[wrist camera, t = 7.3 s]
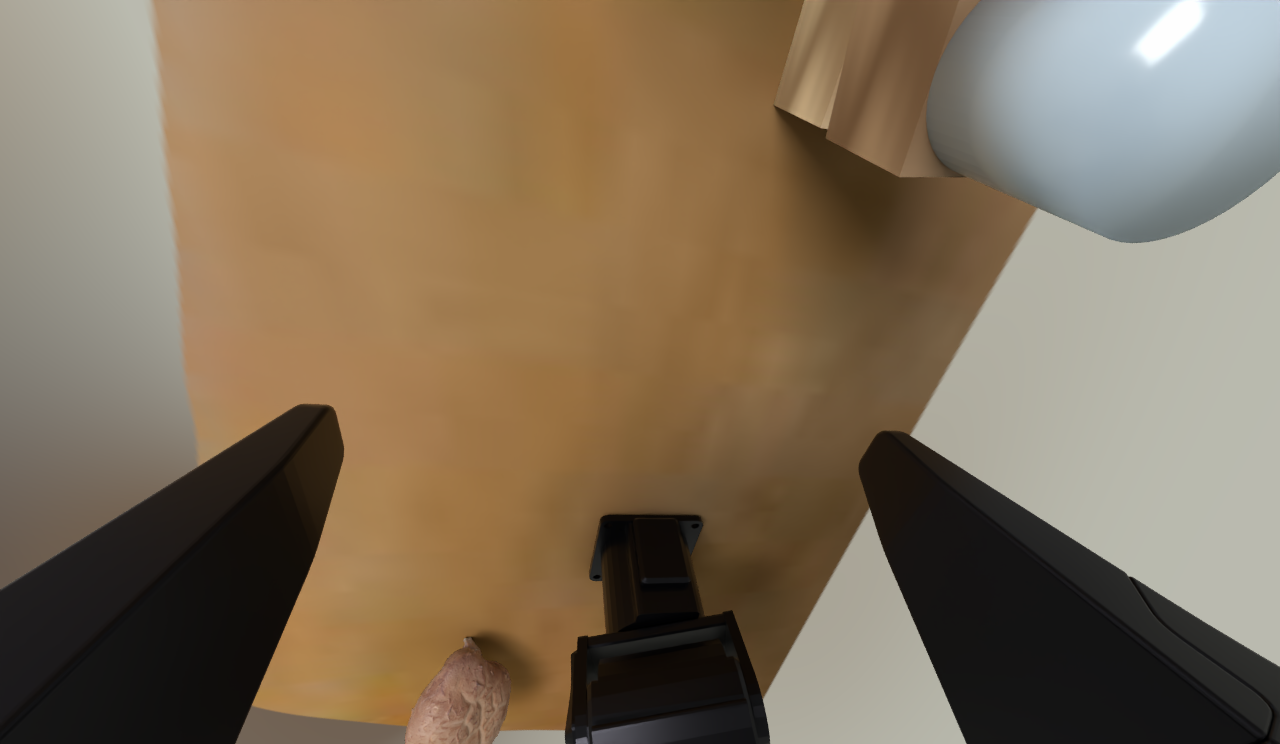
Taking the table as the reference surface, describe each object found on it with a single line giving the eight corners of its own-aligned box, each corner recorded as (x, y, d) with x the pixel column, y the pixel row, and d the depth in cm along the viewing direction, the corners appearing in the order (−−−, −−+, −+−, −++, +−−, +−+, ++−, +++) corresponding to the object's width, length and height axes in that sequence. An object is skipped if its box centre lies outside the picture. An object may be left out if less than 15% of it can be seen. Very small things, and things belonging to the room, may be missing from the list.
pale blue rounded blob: (1036, 188, 12) (1208, 255, 9) (893, 162, 11) (1024, 226, 8) (1167, -19, 10) (1461, -28, 6) (998, -70, 9) (1243, -110, 6)
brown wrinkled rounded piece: (422, 616, 34) (391, 757, 28) (513, 612, 35) (503, 745, 29) (433, 666, 39) (408, 796, 32) (514, 660, 40) (505, 785, 33)
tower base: (872, 123, 18) (937, 149, 15) (773, 104, 17) (820, 127, 14) (927, -11, 16) (1018, -14, 13) (815, -40, 15) (883, -50, 12)
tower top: (949, 139, 15) (1053, 177, 12) (825, 138, 14) (899, 177, 11) (1014, -30, 13) (1165, -40, 9) (868, -38, 12) (976, -51, 9)
